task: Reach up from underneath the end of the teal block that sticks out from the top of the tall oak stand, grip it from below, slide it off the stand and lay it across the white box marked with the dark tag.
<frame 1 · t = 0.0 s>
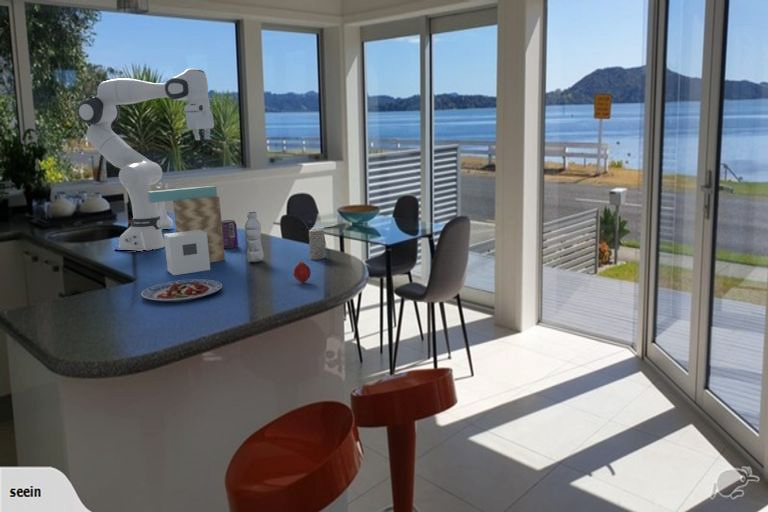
hand: (202, 139, 289), 48 cm above the worktop, tool pointing down, fingers open, 8 cm apart
carving: (317, 259, 267), on the worktop
flower vase: (163, 230, 354), on the worktop
oak stand: (202, 260, 272), on the worktop
teal block: (183, 199, 264), point 26 cm above the worktop, touching oak stand
beverage can: (230, 247, 298), on the worktop
white box: (189, 270, 255), on the worktop
ceramic plate: (183, 295, 221), on the worktop
red pomegranate: (302, 283, 229), on the worktop
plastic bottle: (255, 262, 265), on the worktop
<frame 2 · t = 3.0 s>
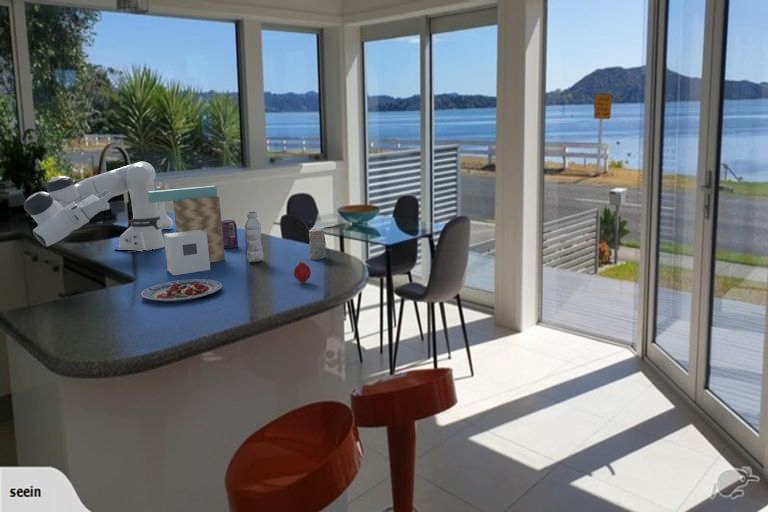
hand: (109, 193, 249), 31 cm above the worktop, tool pointing upward, fingers open, 8 cm apart
nothing on the worktop moved.
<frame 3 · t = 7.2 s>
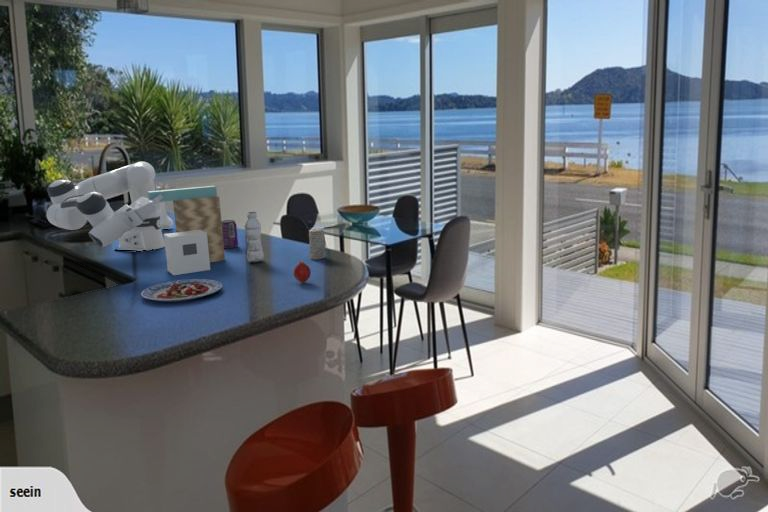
hand: (160, 195, 259), 28 cm above the worktop, tool pointing upward, fingers closed on teal block, 4 cm apart
teal block: (183, 199, 264), point 26 cm above the worktop, touching gripper, oak stand
everything else where it was.
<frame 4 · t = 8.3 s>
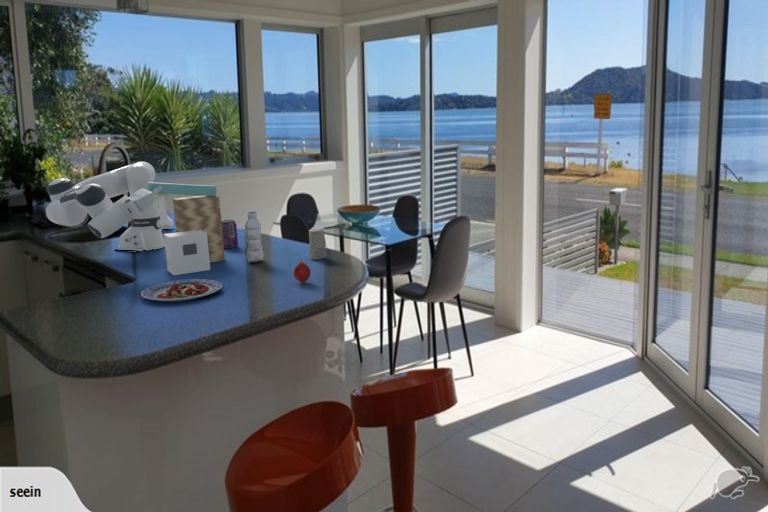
hand: (159, 186, 258), 32 cm above the worktop, tool pointing upward, fingers closed on teal block, 4 cm apart
teal block: (182, 194, 263), point 28 cm above the worktop, tilted 8°, touching gripper, oak stand
everything else where it was.
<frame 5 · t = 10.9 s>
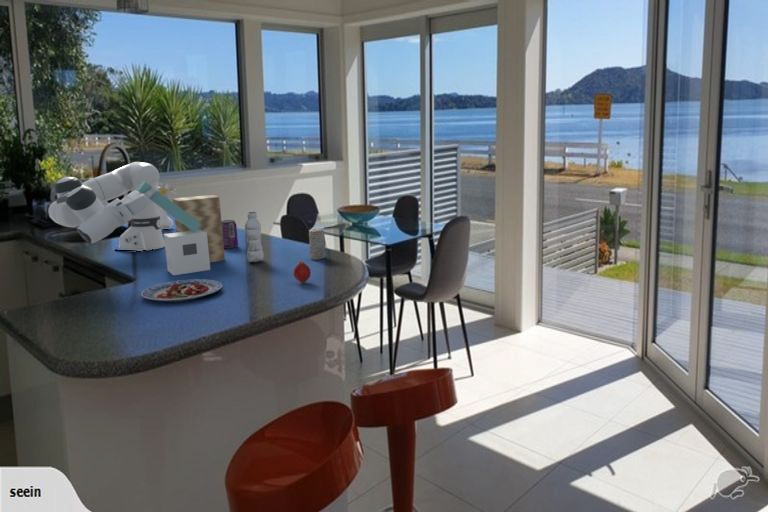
hand: (153, 188, 244), 33 cm above the worktop, tool pointing upward, fingers closed on teal block, 4 cm apart
teal block: (166, 211, 248), point 24 cm above the worktop, tilted 44°, touching gripper, white box
everything else where it was.
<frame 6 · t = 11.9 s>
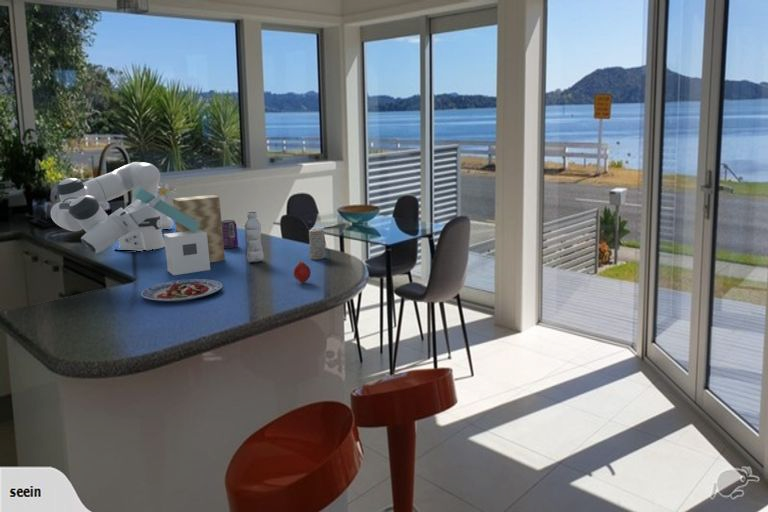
hand: (156, 197, 244), 29 cm above the worktop, tool pointing upward, fingers open, 4 cm apart
teal block: (164, 214, 247), point 23 cm above the worktop, tilted 38°, touching white box
everything else where it was.
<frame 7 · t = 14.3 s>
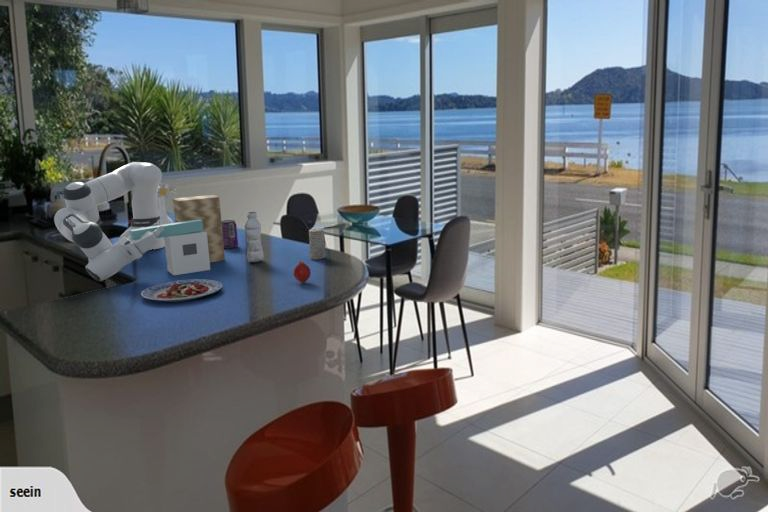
hand: (160, 225, 247), 18 cm above the worktop, tool pointing upward, fingers open, 6 cm apart
teal block: (168, 235, 249), point 15 cm above the worktop, touching arm, white box
everything else where it was.
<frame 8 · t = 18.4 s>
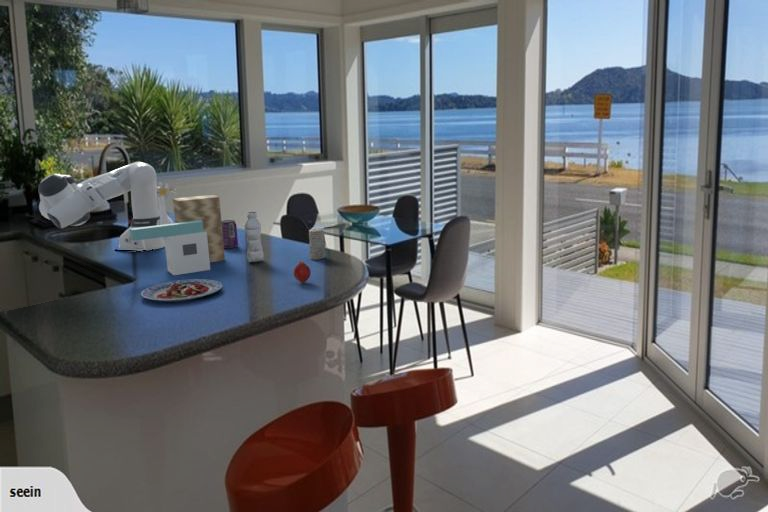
hand: (124, 173, 243), 38 cm above the worktop, tool pointing upward, fingers open, 8 cm apart
teal block: (168, 235, 249), point 14 cm above the worktop, touching white box
everything else where it was.
at the end: teal block inside the target area on the white box (6.4 cm from its centre), point 14.5 cm above the white box's base; the gripper is holding nothing; teal block touching white box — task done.
